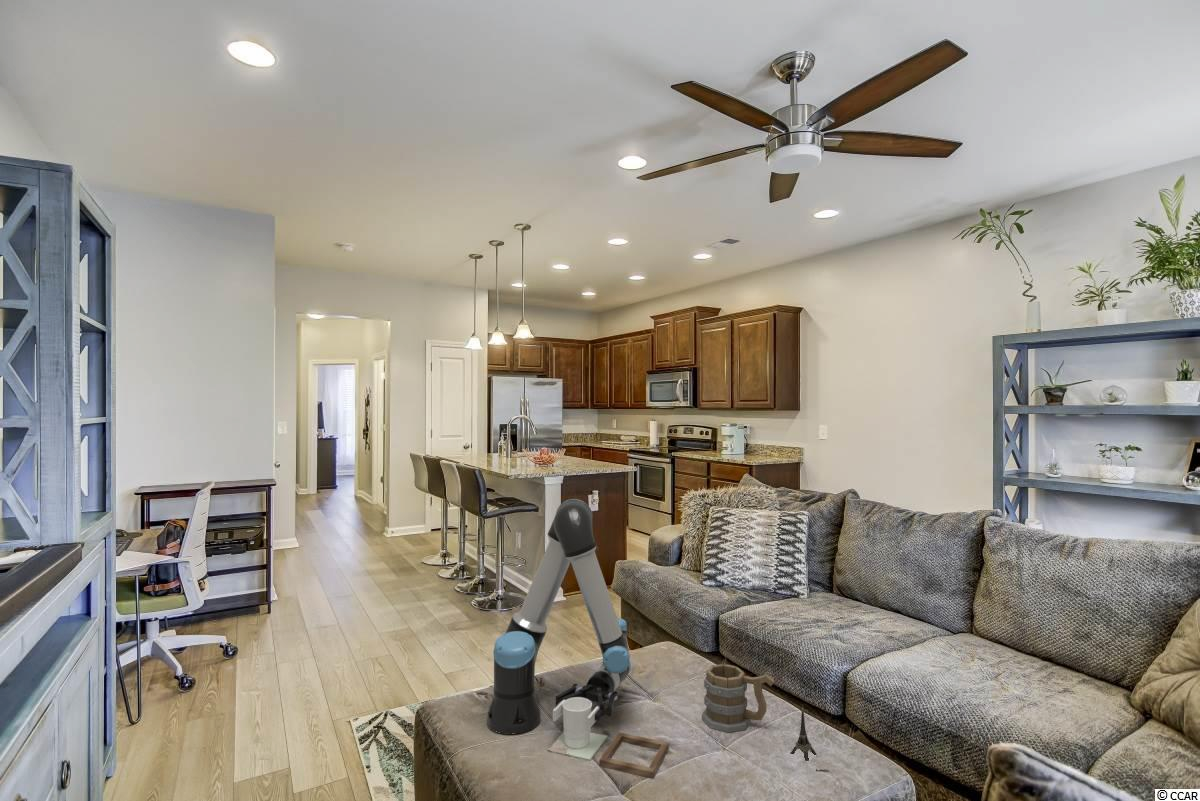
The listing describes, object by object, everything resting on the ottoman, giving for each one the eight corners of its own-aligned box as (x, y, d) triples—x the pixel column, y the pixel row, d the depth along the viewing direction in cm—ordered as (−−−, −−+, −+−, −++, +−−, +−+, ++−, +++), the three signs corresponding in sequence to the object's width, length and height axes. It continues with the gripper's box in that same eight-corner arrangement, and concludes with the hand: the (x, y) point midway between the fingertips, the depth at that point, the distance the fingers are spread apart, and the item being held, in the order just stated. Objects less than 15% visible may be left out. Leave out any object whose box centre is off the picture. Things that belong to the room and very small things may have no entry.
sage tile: (547, 751, 152) (547, 749, 152) (567, 728, 163) (567, 727, 163) (589, 761, 147) (589, 759, 147) (607, 737, 159) (607, 735, 159)
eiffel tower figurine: (774, 740, 158) (773, 690, 159) (812, 741, 158) (811, 690, 158) (789, 773, 143) (788, 717, 144) (831, 774, 143) (830, 718, 143)
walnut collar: (599, 765, 145) (599, 759, 145) (618, 737, 158) (618, 732, 158) (653, 778, 140) (653, 772, 140) (668, 748, 153) (668, 742, 153)
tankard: (697, 725, 165) (697, 671, 166) (711, 706, 176) (710, 655, 177) (769, 743, 156) (768, 686, 156) (778, 722, 167) (778, 668, 167)
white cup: (578, 731, 161) (578, 694, 161) (597, 742, 155) (598, 704, 156) (556, 741, 156) (556, 703, 156) (575, 753, 150) (576, 714, 150)
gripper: (638, 703, 168) (610, 742, 147) (569, 690, 176) (533, 726, 155) (638, 677, 168) (610, 712, 147) (569, 665, 177) (533, 697, 156)
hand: (570, 719), depth 151 cm, fingers open, 9 cm apart
